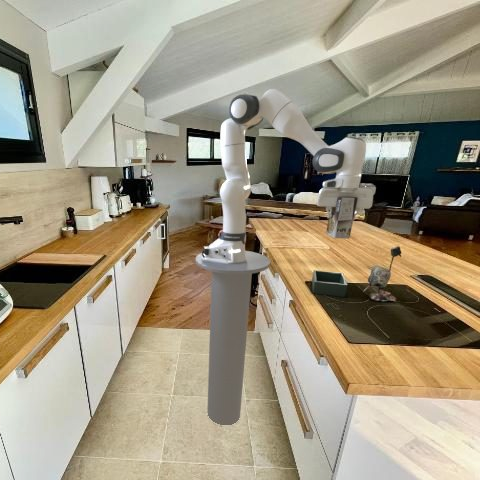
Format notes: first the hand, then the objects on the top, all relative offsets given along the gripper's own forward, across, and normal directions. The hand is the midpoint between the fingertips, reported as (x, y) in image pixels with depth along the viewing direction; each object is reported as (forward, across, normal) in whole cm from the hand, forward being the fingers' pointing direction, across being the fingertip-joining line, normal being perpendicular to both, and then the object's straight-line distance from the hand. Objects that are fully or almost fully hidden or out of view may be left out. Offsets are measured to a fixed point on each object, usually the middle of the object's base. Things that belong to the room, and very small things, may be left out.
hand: (340, 218), depth 127 cm
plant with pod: (+27, -17, +15) cm, 35 cm away
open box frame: (+27, +1, +11) cm, 29 cm away
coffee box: (+7, 0, 0) cm, 7 cm away
